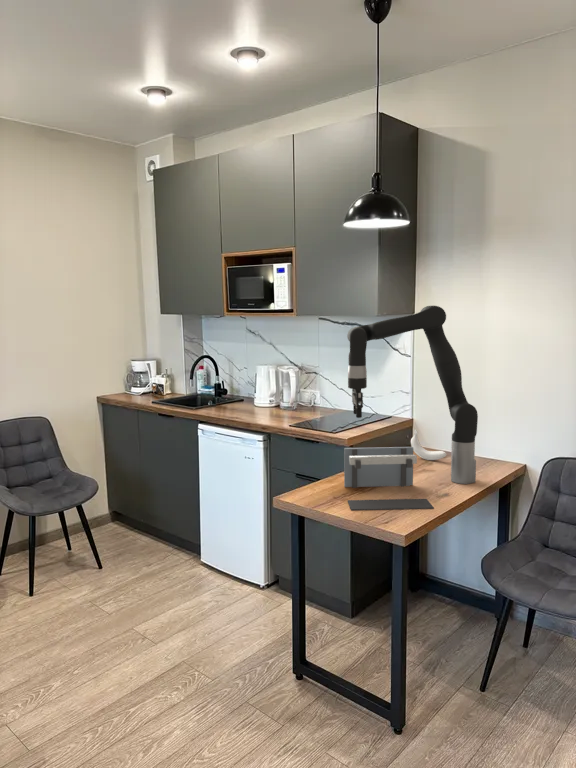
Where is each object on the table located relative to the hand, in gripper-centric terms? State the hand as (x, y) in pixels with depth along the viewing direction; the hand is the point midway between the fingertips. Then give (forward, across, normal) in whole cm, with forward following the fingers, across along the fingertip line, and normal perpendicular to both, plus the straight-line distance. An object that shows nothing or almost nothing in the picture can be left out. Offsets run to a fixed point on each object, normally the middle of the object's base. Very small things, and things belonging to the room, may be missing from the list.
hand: (357, 415), depth 235 cm
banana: (+29, +36, -39) cm, 61 cm away
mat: (+29, -27, -8) cm, 40 cm away
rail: (+17, -13, -8) cm, 23 cm away
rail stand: (+29, -9, -8) cm, 31 cm away
